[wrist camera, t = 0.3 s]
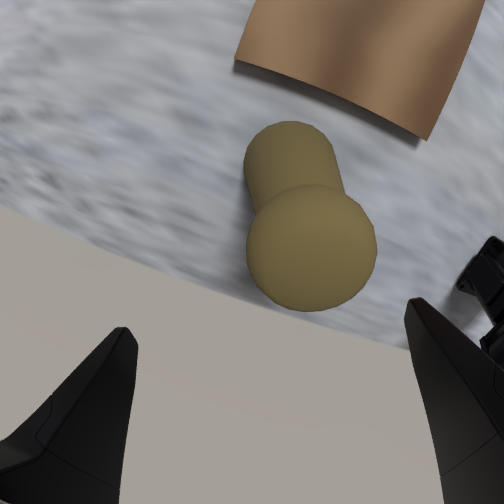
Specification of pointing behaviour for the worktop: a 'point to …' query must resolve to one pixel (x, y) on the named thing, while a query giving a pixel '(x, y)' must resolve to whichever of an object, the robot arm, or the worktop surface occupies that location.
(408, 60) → the walnut coaster board
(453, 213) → the worktop surface
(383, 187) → the worktop surface
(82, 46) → the worktop surface
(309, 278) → the cork
